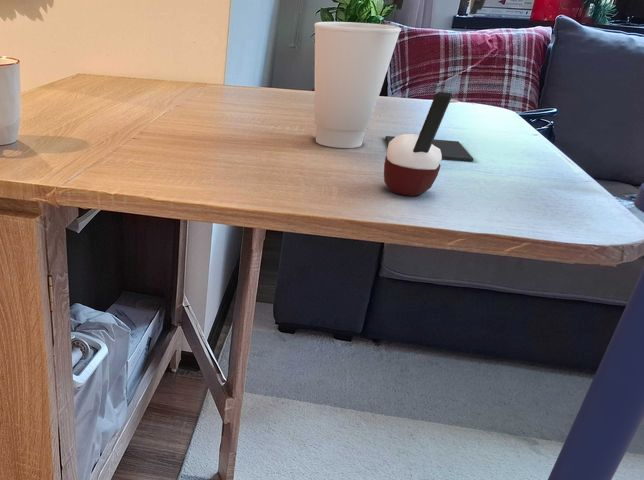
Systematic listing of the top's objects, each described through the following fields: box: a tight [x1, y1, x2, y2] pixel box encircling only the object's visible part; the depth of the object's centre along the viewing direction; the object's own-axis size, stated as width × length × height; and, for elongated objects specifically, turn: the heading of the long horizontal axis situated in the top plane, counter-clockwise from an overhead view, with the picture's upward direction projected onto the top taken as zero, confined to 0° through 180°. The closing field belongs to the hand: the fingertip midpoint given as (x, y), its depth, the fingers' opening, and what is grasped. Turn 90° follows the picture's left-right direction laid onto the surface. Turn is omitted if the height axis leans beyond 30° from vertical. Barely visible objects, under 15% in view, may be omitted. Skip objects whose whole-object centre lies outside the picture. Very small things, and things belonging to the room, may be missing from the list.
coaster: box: [385, 135, 474, 162], centre depth 94 cm, size 11×11×1 cm
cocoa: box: [383, 91, 453, 197], centre depth 72 cm, size 10×6×12 cm, turn 154°
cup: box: [313, 21, 402, 149], centre depth 92 cm, size 12×12×16 cm
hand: (436, 6), depth 75 cm, fingers open, 8 cm apart
